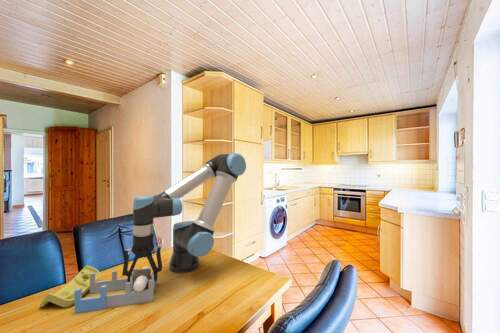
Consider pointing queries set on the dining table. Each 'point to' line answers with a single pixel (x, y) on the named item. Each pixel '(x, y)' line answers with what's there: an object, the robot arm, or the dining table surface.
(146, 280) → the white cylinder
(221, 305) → the dining table surface
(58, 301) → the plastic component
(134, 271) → the blue peg rack
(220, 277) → the dining table surface
